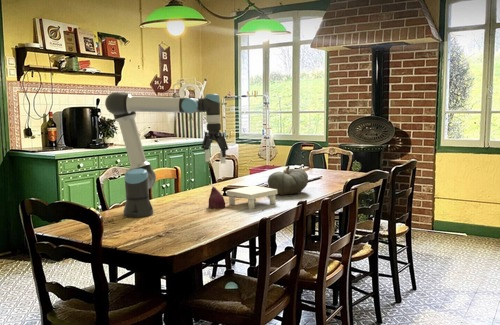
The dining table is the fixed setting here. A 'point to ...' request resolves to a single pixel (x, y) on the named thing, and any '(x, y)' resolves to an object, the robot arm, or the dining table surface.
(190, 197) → the dining table surface
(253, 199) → the footstool
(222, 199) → the vegetable
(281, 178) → the gourd
